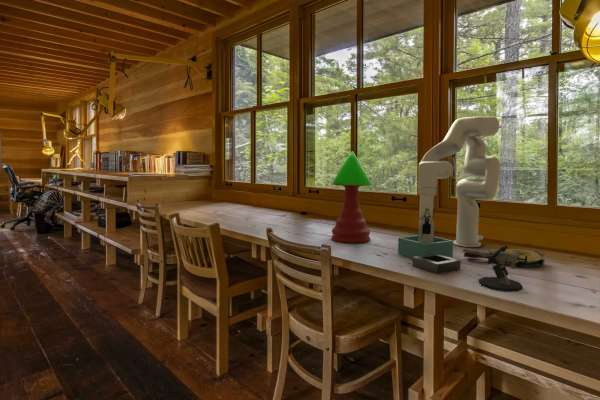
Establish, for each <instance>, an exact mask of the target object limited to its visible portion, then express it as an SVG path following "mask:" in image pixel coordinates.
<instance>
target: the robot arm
mask: <svg viewBox="0 0 600 400" xmlns="http://www.w3.org/2000/svg"><path fill="white" fill-rule="evenodd" d="M499 129H500V121H499V119H498V118H497V117H495V116H468V117H467V116H466V117H459V118H457V119H455V120H454V122H453V123H452V124H451V126H450V128H449V129H448V132H447V133H446V135H445V137H444V138H443V140H442V141H441V142H439V143H437V144H436V145H434V146H433V147H431V148H430V149H429V150H428V151H427V152H426V153H425V154H424V156H423V157H422V159H421V160H420V162H419V163H418V170H417V171H418V173H417V195H418V196H419V220H420V219H421V218H423V228H422V233H423V234H431V224H430V219H432V218H433V212H434V211H433V210H434V196H437V194H438V179H441V180H442V179H449V178H450V177H451V176H452V175H453V173H454V167H453V164H452V163H451V162H448V161H447V160H442V159H444V158H447V157H451V156H453V155H454V154H458V153H459V152H460V151H461V150H462V148H463V146H464V144H466V145H465V146H466V150H465V156H464V163H463V170H462V171H463V174H464V175H465V176H468V177H481V178H463V179H460V180H459V181H458V182H457V183H456V185H455V192H456V198H457V199H456V200H457V206H456V209H457V212H456V234H455V239H454V240H452V241H453V246H454V245H455V246H457V247H463V248H479V247H481V246H482V243H481V242H480V240H483V239H484V236H483V235H479V219H480V207H479V205H478V203H477V201H476V200H478V201H479V200H480V201H491V200H493V199H494V198H495V197H496V194H497V191H498V185H499V179H500V174H501V162H500V159H498V157H496V156H492V155H489V156H488V155H486V151H487V145H486V143H485V141H484V140H483V139H482V138H481V137H486V136H487V137H488V136H494V135H496V134H497V133H498V131H500V130H499ZM482 178H483V179H482Z"/></svg>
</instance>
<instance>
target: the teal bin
mask: <svg viewBox="0 0 600 400" xmlns="http://www.w3.org/2000/svg"><path fill="white" fill-rule="evenodd" d="M453 241H454V240H452V239H447V238H444V237H439V236H434V235H433V243H429V244H425V243H421V242H418V234H416V235H410V236H401V237H398V240H397V243H398V244H397V245H398V246H397V254H399V255H402V256H405V257H409V258H411V259H413V257H416V256H422V255H429V254H439V255H443V256H446V257H450V258H454V257H453V256H454V255H453V254H454V244H453Z"/></svg>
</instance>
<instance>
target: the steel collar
mask: <svg viewBox="0 0 600 400" xmlns="http://www.w3.org/2000/svg"><path fill="white" fill-rule="evenodd" d="M461 261H462V260H461V259H459V258H458V259H457V258H454V257H451V258H450V257H446V256H443V255H439V254H429V255H422V256H416V257H413V258H412V267H415V268H418V269H420V270H423V271H426V272H429V273H433V274H436V275H439V274H444V273H445V274H446V273H449V272H455V271H460V270H461Z"/></svg>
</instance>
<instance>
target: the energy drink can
mask: <svg viewBox="0 0 600 400" xmlns="http://www.w3.org/2000/svg"><path fill="white" fill-rule="evenodd" d="M430 224H431V234H423V233H422V228H423V218H421V219H420V218H419V221H418V232H417V233H418V234H417V235H418V242H421V243H425V244H429V243H433V236H434V229H435V226H434V225H435V222H434V220H433V217H432V219H430Z"/></svg>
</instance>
